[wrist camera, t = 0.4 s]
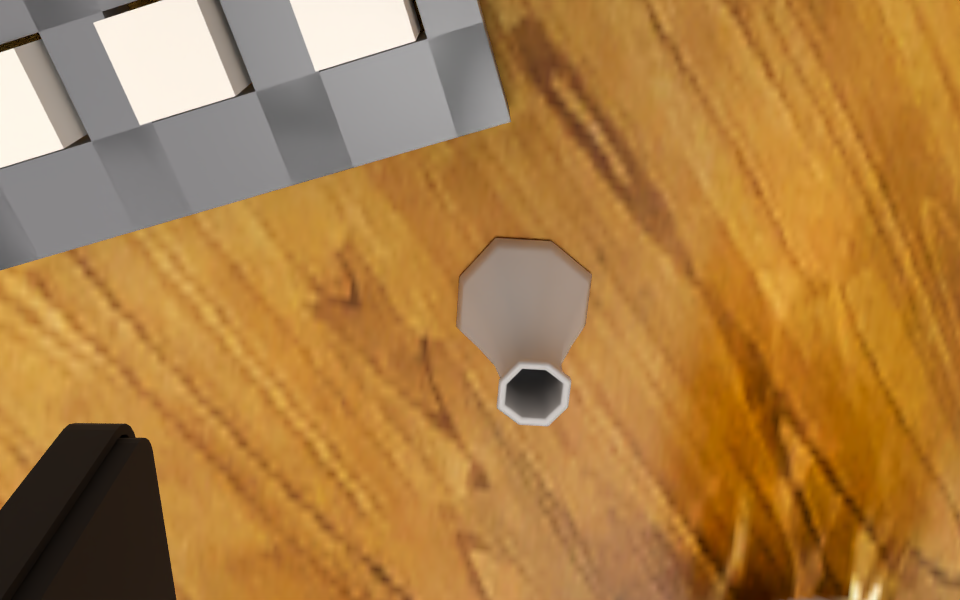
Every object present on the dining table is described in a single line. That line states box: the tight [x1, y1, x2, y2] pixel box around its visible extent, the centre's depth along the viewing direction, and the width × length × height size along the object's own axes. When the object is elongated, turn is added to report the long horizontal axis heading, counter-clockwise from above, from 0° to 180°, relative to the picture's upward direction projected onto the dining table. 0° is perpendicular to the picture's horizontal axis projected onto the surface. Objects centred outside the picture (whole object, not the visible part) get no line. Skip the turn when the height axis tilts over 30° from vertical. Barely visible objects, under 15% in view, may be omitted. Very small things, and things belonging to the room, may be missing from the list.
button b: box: [93, 0, 252, 125], centre depth 38 cm, size 4×4×4 cm
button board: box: [0, 0, 511, 270], centre depth 40 cm, size 14×26×3 cm, turn 106°
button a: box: [0, 39, 88, 168], centre depth 39 cm, size 4×4×4 cm
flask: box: [456, 238, 592, 426], centre depth 42 cm, size 7×7×10 cm
